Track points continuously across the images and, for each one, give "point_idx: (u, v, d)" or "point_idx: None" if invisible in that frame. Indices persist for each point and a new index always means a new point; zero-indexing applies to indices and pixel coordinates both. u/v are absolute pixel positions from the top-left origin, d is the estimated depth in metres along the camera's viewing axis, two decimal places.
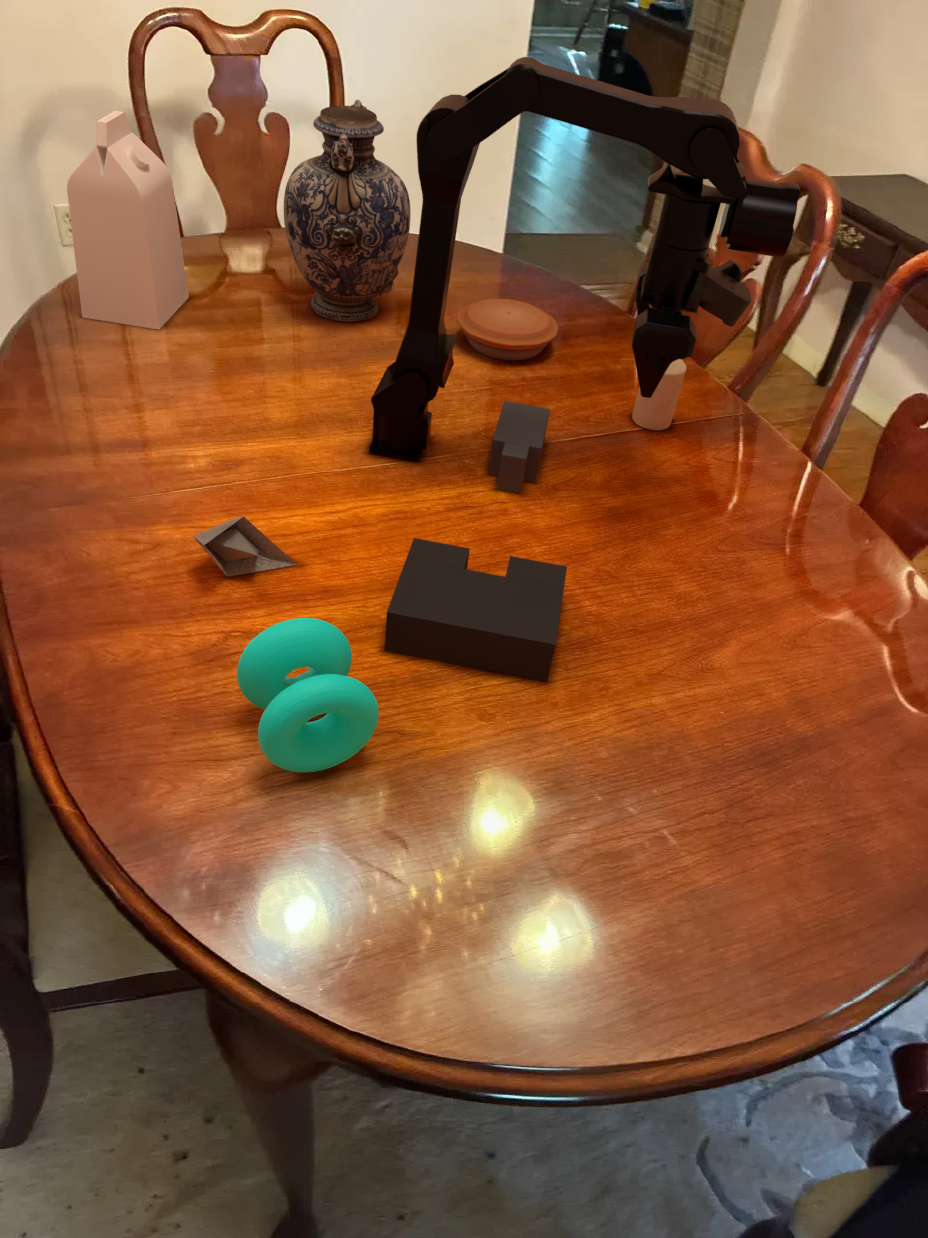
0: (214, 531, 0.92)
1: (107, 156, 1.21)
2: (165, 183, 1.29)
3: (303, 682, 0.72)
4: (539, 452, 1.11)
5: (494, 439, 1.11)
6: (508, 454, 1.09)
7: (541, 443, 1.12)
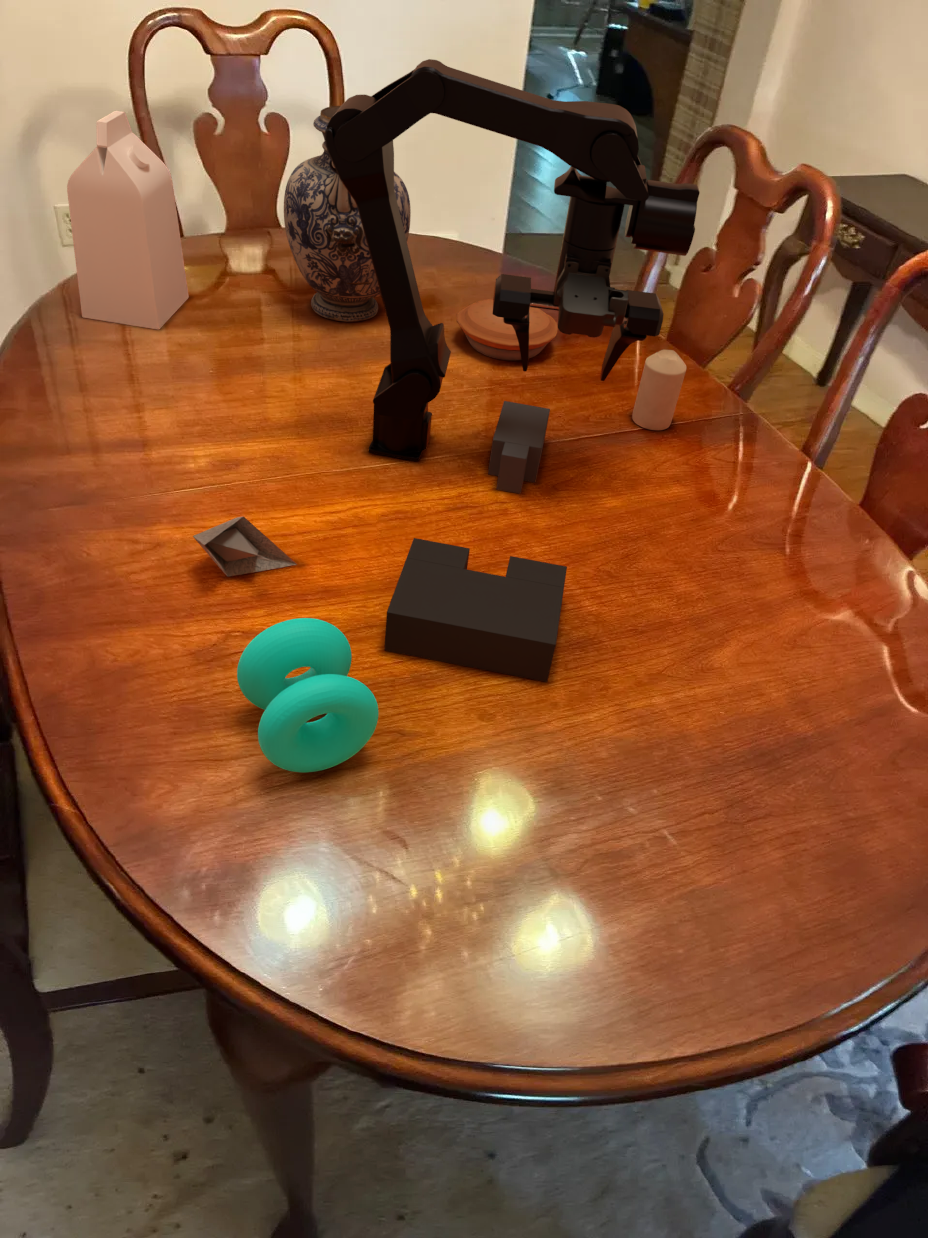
0: (214, 531, 0.92)
1: (107, 156, 1.21)
2: (165, 183, 1.29)
3: (303, 682, 0.72)
4: (539, 452, 1.11)
5: (494, 439, 1.11)
6: (508, 454, 1.09)
7: (541, 443, 1.12)
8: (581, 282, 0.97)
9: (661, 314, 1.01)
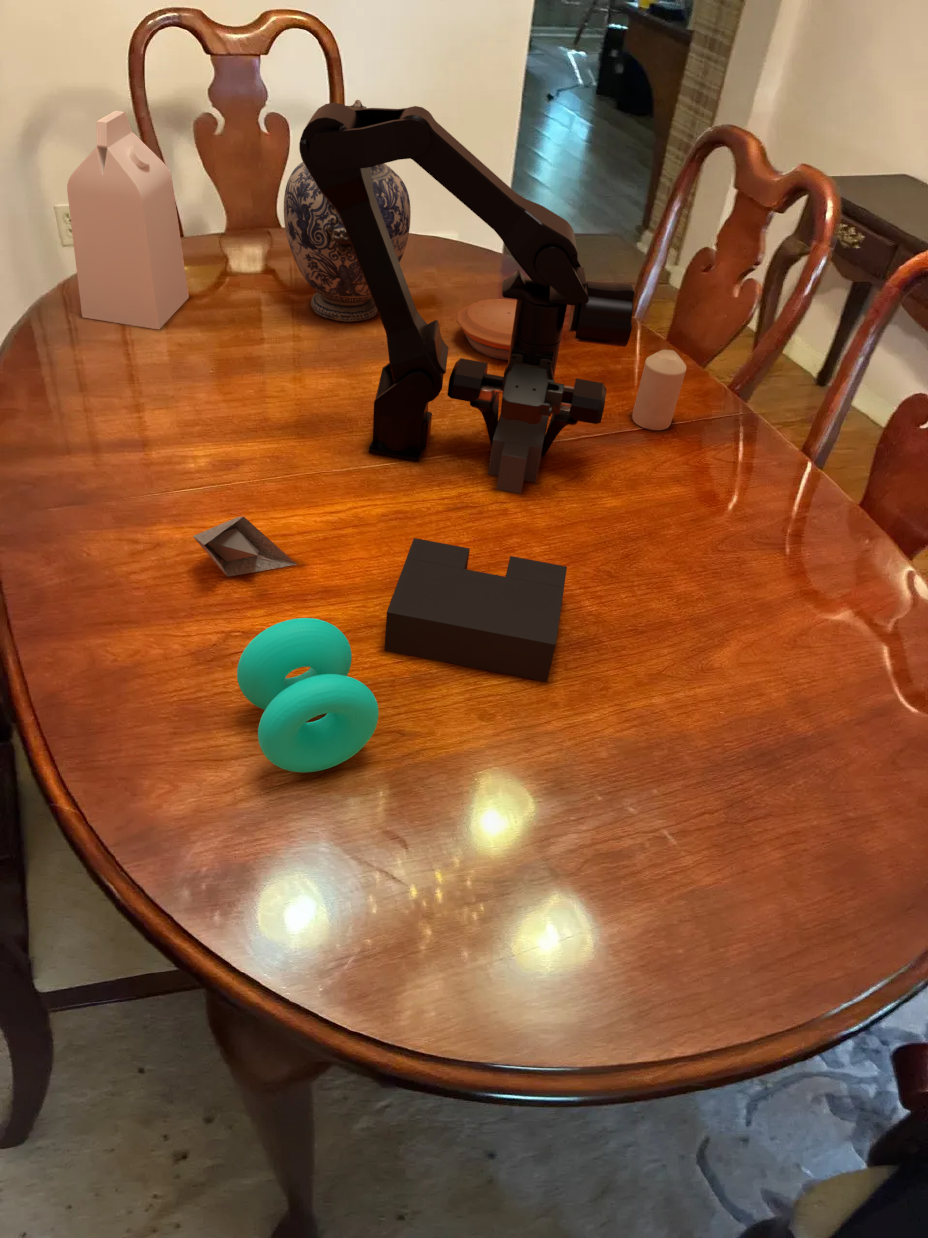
0: (214, 531, 0.92)
1: (107, 156, 1.21)
2: (165, 183, 1.29)
3: (303, 682, 0.72)
4: (539, 452, 1.11)
5: (494, 439, 1.11)
6: (508, 454, 1.09)
7: (541, 443, 1.12)
8: (524, 373, 1.06)
9: (602, 404, 1.09)
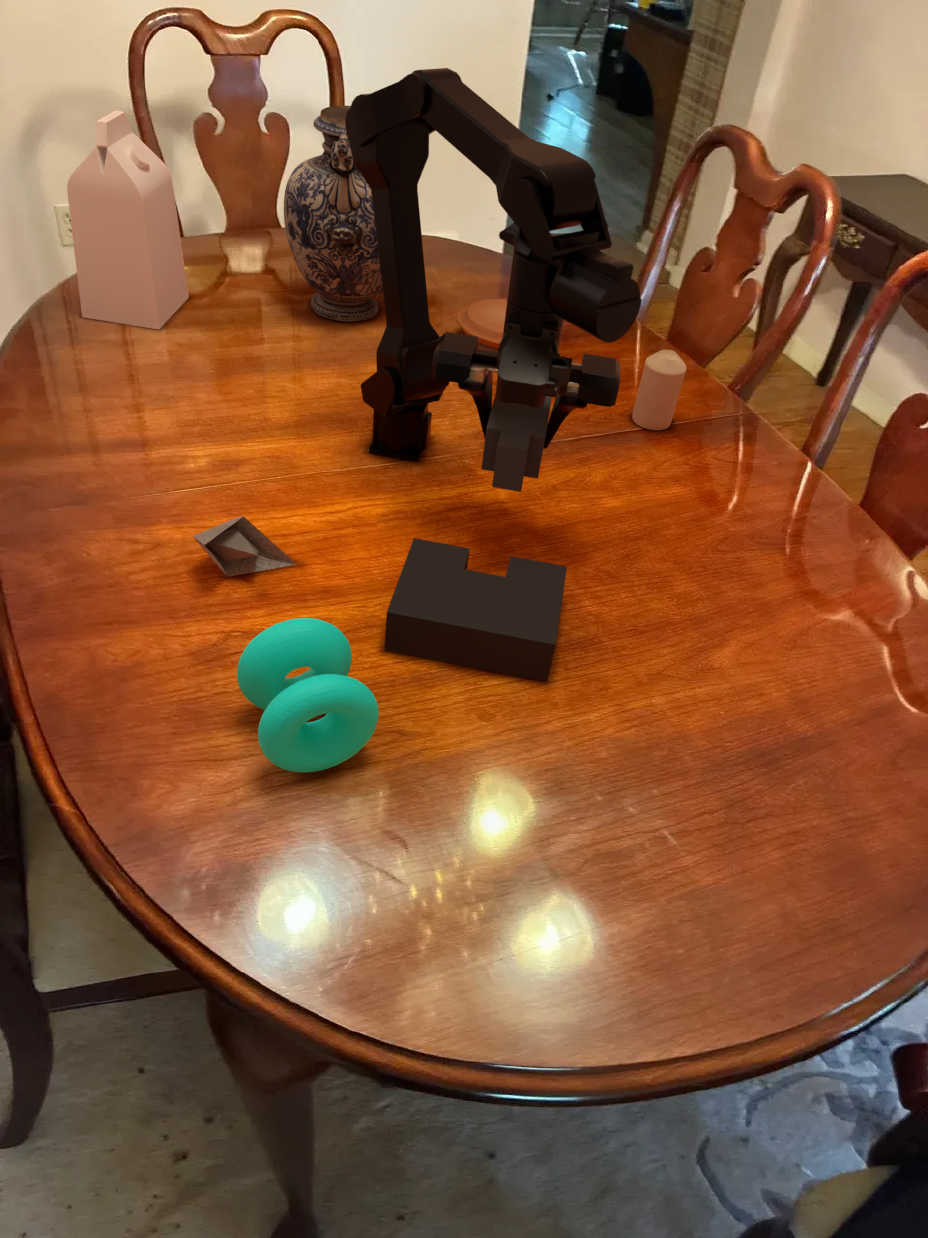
0: (214, 531, 0.92)
1: (107, 156, 1.21)
2: (165, 183, 1.29)
3: (303, 682, 0.72)
4: (542, 442, 0.93)
5: (488, 427, 0.93)
6: (506, 444, 0.91)
7: (544, 431, 0.94)
8: (523, 346, 0.88)
9: (616, 383, 0.91)
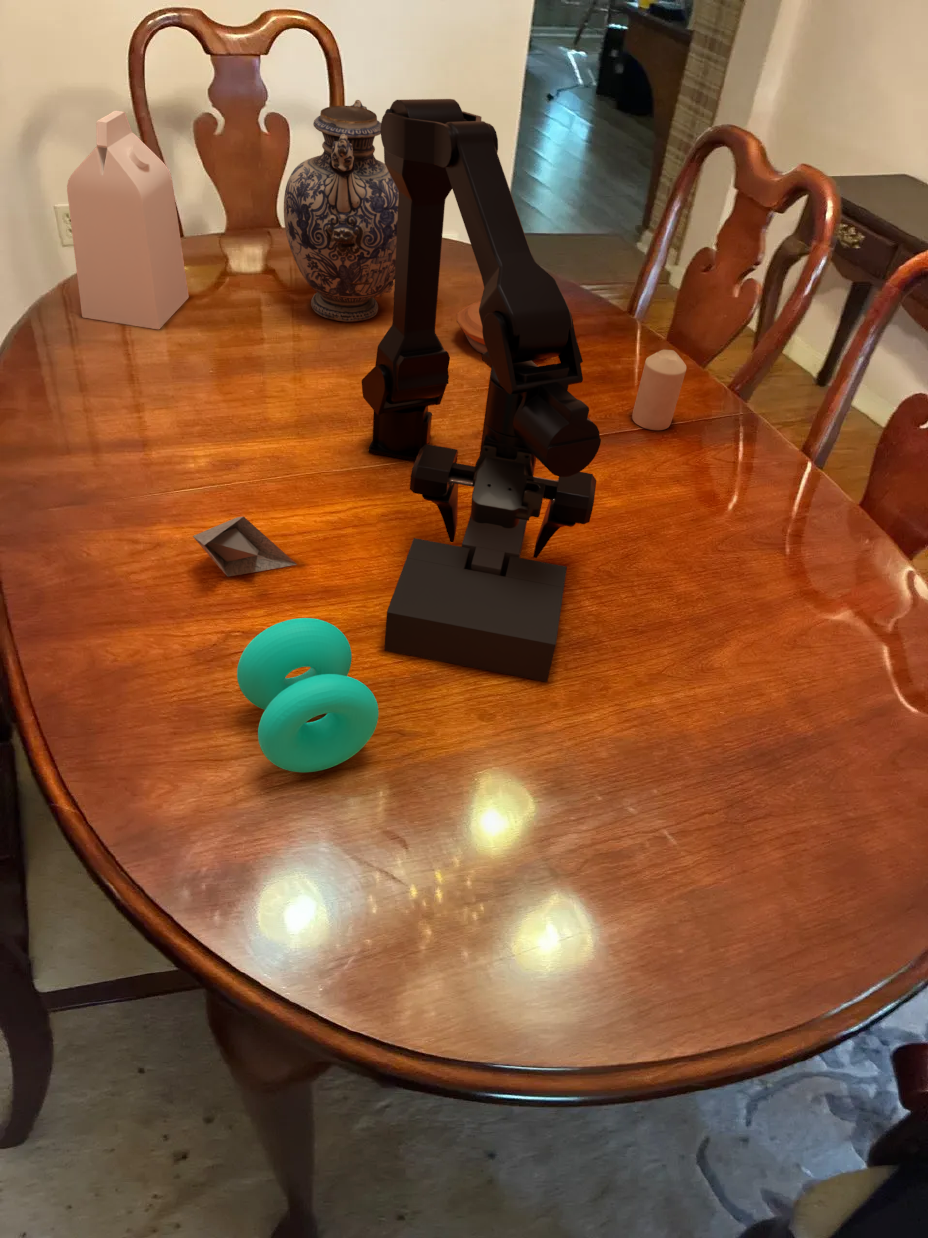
0: (214, 531, 0.92)
1: (107, 156, 1.21)
2: (165, 183, 1.29)
3: (303, 682, 0.72)
4: None
5: (464, 543, 0.95)
6: (479, 563, 0.93)
7: (519, 548, 0.96)
8: (498, 469, 0.89)
9: (591, 502, 0.92)
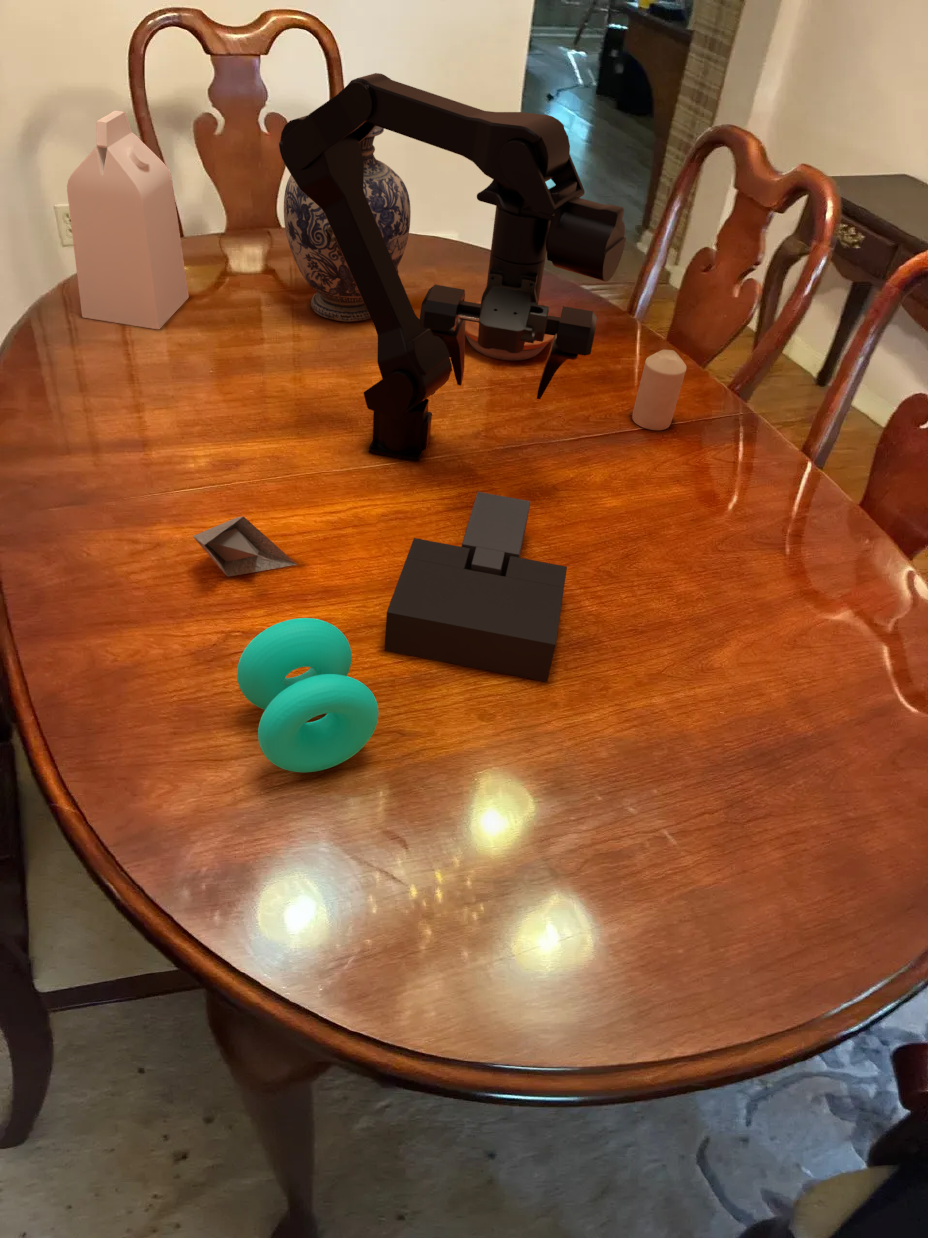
0: (214, 531, 0.92)
1: (107, 156, 1.21)
2: (165, 183, 1.29)
3: (303, 682, 0.72)
4: None
5: (464, 543, 0.95)
6: (479, 563, 0.93)
7: (519, 548, 0.96)
8: (503, 296, 0.94)
9: (592, 333, 0.97)
